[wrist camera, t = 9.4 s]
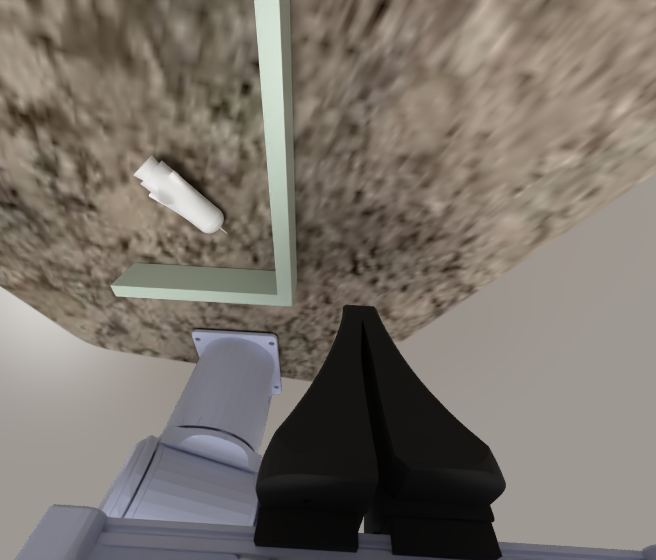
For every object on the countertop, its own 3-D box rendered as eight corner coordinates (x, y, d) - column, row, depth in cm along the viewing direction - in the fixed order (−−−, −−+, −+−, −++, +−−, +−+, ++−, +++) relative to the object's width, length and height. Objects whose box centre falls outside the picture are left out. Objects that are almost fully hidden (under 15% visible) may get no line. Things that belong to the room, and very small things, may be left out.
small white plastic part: (190, 237, 21) (170, 259, 19) (146, 154, 18) (114, 167, 16) (234, 230, 21) (220, 251, 18) (198, 142, 18) (174, 154, 15)
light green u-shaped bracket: (297, 282, 23) (291, 306, 21) (139, 273, 23) (115, 296, 21) (288, -41, 13) (276, -68, 10) (0, -56, 13) (-79, -86, 10)
